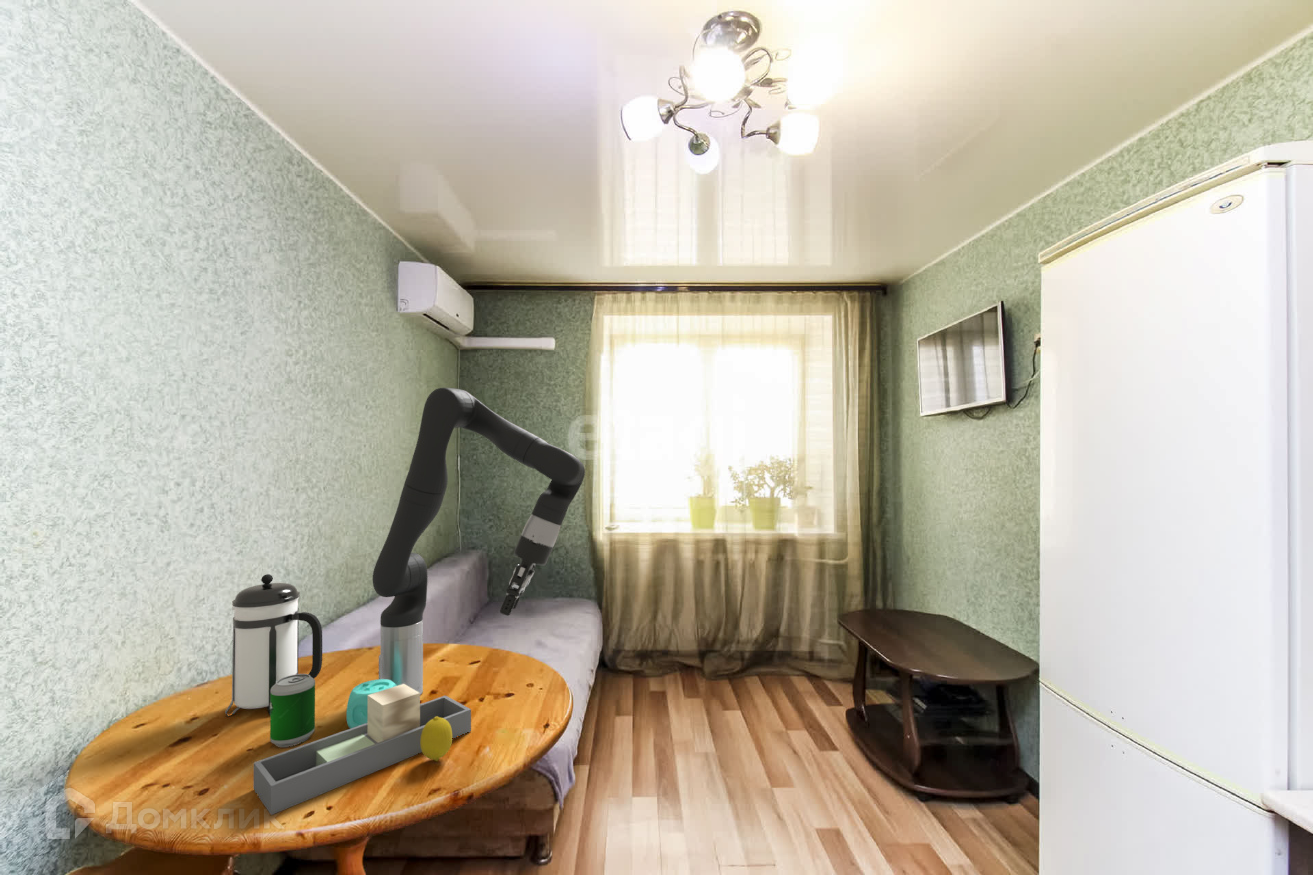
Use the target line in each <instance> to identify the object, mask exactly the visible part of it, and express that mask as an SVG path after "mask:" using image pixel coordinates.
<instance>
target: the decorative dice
mask: <svg viewBox="0 0 1313 875" xmlns="http://www.w3.org/2000/svg"><path fill="white" fill-rule="evenodd" d="M395 686H397V685H396V684H395V683H394V682H392V681H391V680H387V679H379V678H378V679H377V678H376V679H373V680H372V679H371V680H367V681H364V682H361V683H359V684H357V685H356V686H354V687H353V688H352V689H351V691H350V694H349V697H348V699H347V700H348V701H347V705H346V712H345V713H346V718H345V719H346V723H347V726H348V728H349V729H351V728H354V727H357V726H359V725H362V724H365V723H368V695H370V694H373V693H376V692H379V691H383V690H386V689H389V688H392V687H395Z"/></svg>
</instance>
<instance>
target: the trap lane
mask: <svg viewBox="0 0 1313 875" xmlns="http://www.w3.org/2000/svg"><path fill="white" fill-rule="evenodd" d="M436 716H438V717H439V718H444V719H446V720H447V721H448V722H449V724H450V726H451V729H452V738H455V739H457V738H458V737H457V736H460V735H462V734H464V735H466V734H465V733H467V732H469V733H471V732H472V709H471V708H469V707H467V706H465V705H464V704H463V703H460V702H458V701H456V700H455V699H453V698H451V697H449V696H447V695H442V696H440V697H437V698H434V699H432V700H429V701H428V700H427V701H425V702H422V703H420V727H418V728H416V729H413V730H411V731H408V732H405V733H403V734H400V735H397V736H395V737H392V738H390V739H387V740H384V741H382V742H379V743H377V742H376V741H375V740H374V739H372V738H371V737H370V736H368V735H367V729H368V723H365V724H362V725H359V726H357V727H354V728H351V729H350V728H349V729H345V730H343V731H340V732H337V733H333V734H332V735H329V736H326V737H322V738H320V739H317V740H314V741H312V742H309V743H305V744H303V745H300V746H296V747H294V748H291V749H289V750H286V751H282V752H280V753H277V754H275V755H272V756H268V757H265V758H263V759H259V760H258V761H255V762H253V779H252V780H253V789H254V790H255V791H254V790H253V789H252V790H253V791H254V793H255V794H256V793H257V794H258V795H257V794H256V795H257V797H258V796H259V797H258V799H259V800H260V801H261V802H262V804H263V806H264V807H265V808H266V810H267V812H269V814H270V816H272V815H275V814H277V813H280V812H283V811H285V810H286V809H289V808H292V807H294V806H296V805H298V804H299V805H300V804H301V803H303V802H306V801H308V800H311V799H313V798H316V797H319V796H320V795H323V794H325V793H327V792H330V791H332V790H334V789H336V788H339V787H342V786H345V785H347V784H349V783H352V782H354V781H356V780H359V779H360V778H363V777H366V776H368V775H371V774H374V773H375V772H377V771H380V770H383V769H385V768H388V767H389V766H390V767H391V766H392V765H394V764H397V763H399V762H402V761H404V760H406V759H409V758H411V757H414V756H417V755H418V753H419V754H421V753H423V752H422V750H421V745H420V739H421V734H422V731H423V728H424V726H425V725H426V724H427V723H428V722H429V721H430V720H432V719H434V718H435V717H436ZM470 731H471V732H470ZM467 734H468V733H467ZM462 736H463V735H462ZM456 737H457V738H456ZM460 737H461V736H460Z"/></svg>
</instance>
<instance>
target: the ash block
mask: <svg viewBox="0 0 1313 875" xmlns="http://www.w3.org/2000/svg"><path fill="white" fill-rule="evenodd" d="M420 704H421V695H420V693H419V692H417V691H416V690H414V689H412V688H410V687H409V686H407V685H405V684H402V685H398V686H395V687H392V688H389V689H386V690H383V691H379V692H376V693H373V694H370V695H368V729H367V735H368V736H370V737H371V738H372V739H374V740H375V741H376V742H377V743H379V742H382V741H384V740H387V739H390V738H392V737H395V736H397V735H400V734H403V733H405V732H408V731H411V730H413V729H416V728H418V727H420Z"/></svg>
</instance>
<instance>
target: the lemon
mask: <svg viewBox="0 0 1313 875" xmlns="http://www.w3.org/2000/svg"><path fill="white" fill-rule="evenodd" d="M452 743H453V739H452V729H451V726H450V724H449V722H448V721H447V720H446V719H444V718H439V717H438V716H436V717H435V718H434V719H432V720H430V721H429V722H428V723H427V724H426V725H425V726H424V728H423V731H422V734H421V739H420V745H421V750H422V752H421V753H422V754H423V755H424V757H425V758H427V759H429V760H433V761H434V762H438V761H439V760H440V759H441V758H443V757H444V756H446V754H447V753H448V752H449V751H450V749H451V746H452Z"/></svg>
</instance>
